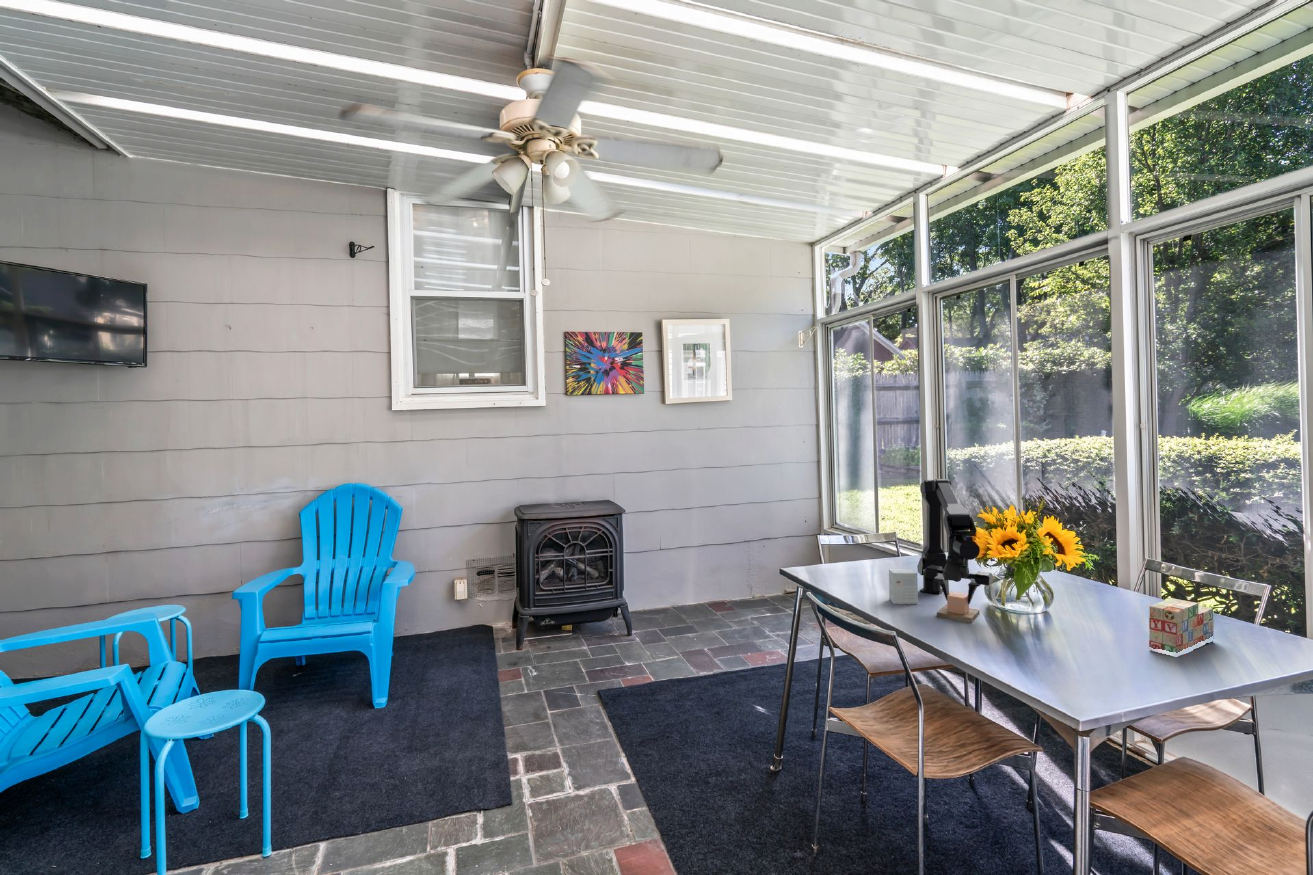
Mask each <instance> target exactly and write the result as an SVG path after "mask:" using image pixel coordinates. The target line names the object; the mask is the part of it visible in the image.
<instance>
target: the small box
mask: <svg viewBox="0 0 1313 875" xmlns="http://www.w3.org/2000/svg"><path fill="white" fill-rule="evenodd" d="M918 586H919V584H918V572H917V571H916V570H914V569H913V568H900V569H899V568H897V569H896V568H895V569H893V568H888V588H889V589H888V590H889V591H888V592H889V593H888V595H889V601H891V603H892V604H893V605H918V604H919V602H918V601H919V597H918V596H919V595H918V593H919V591H918V588H919V587H918Z"/></svg>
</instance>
